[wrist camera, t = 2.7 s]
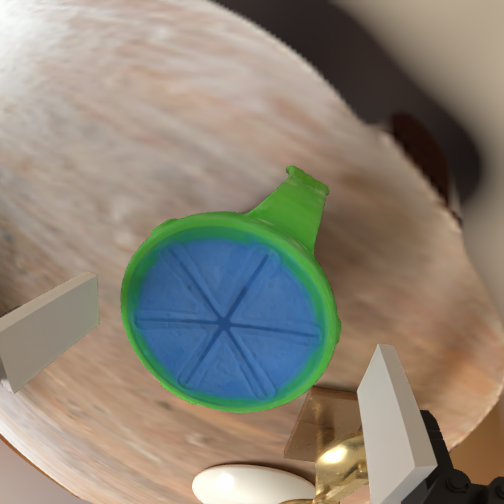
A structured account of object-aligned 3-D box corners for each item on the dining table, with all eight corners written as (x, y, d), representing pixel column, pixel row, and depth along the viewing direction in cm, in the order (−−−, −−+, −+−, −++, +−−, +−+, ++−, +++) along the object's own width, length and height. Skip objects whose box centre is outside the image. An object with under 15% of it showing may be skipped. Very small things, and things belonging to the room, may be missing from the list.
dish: (192, 501, 34) (190, 507, 33) (197, 447, 30) (194, 454, 29) (298, 521, 33) (298, 527, 32) (338, 472, 28) (338, 480, 27)
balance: (274, 470, 29) (261, 547, 18) (326, 342, 24) (334, 448, 13) (322, 476, 29) (320, 552, 18) (391, 353, 23) (428, 450, 12)
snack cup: (249, 367, 25) (222, 456, 16) (151, 295, 25) (81, 356, 15) (375, 228, 21) (427, 273, 11) (259, 137, 21) (223, 109, 11)
